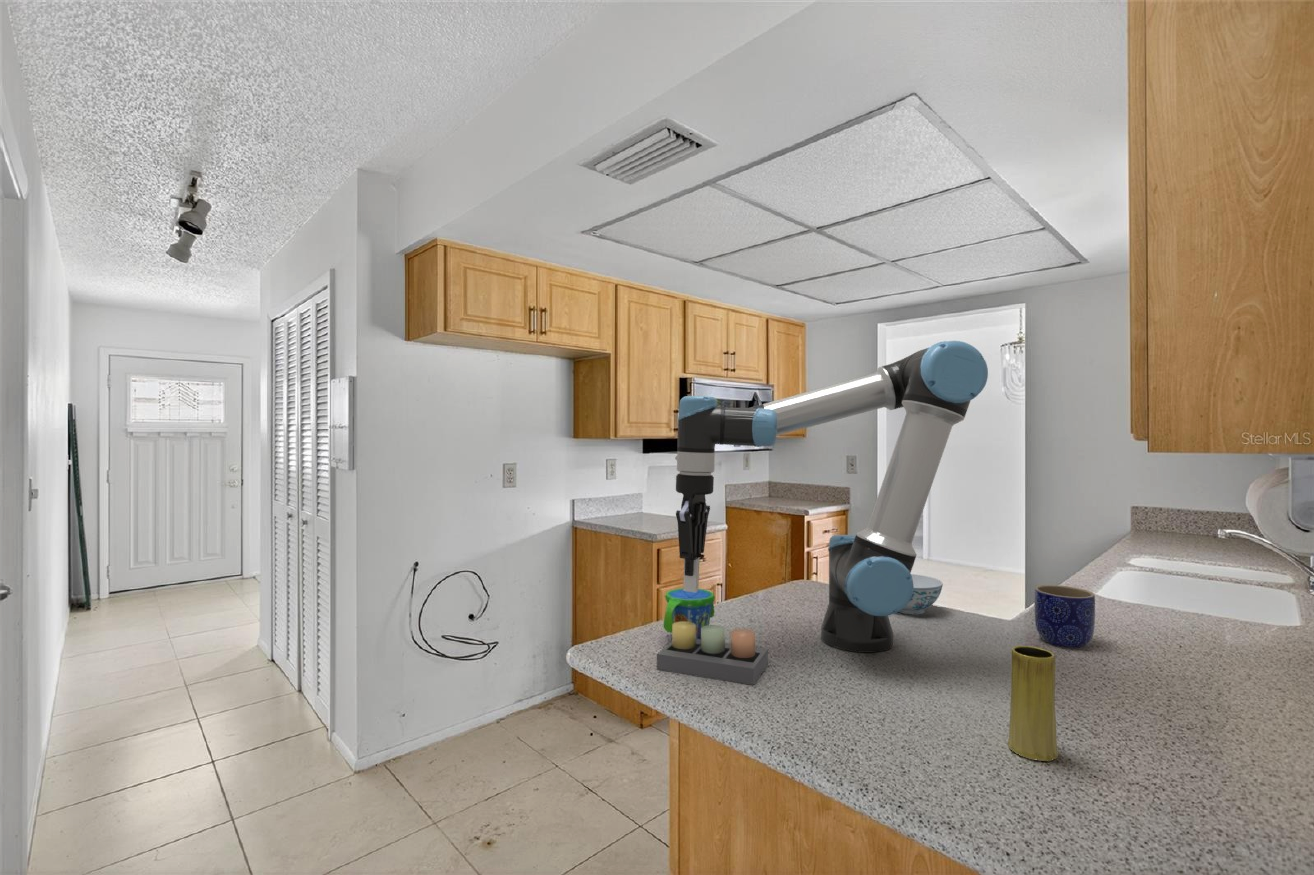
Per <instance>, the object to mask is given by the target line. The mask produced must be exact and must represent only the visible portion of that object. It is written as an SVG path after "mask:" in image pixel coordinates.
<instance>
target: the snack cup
mask: <svg viewBox="0 0 1314 875" xmlns="http://www.w3.org/2000/svg"><path fill="white" fill-rule="evenodd" d="M664 597H665V601H666V602H667V605H666V608H665V613H664V617H663V628H664V631H666V632H667V633H670V634H672V624H673V623H676V622H682V621H685V622H692V623H694V624H695V625H696V639H700V640H701V628H702V627H703V626H707V625H710V620H711V618H713V617H714V616H715V606H714V602H715V600H716V599H715V598H716V597H715V595H714V592H712V591H710V590H707V589H702V588H698V591H697V592H696V593H695V592H688V591H683V588H675V589H671V590H668V591H667V592H666V593H665V595H664Z"/></svg>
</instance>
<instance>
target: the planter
mask: <svg viewBox="0 0 1314 875" xmlns="http://www.w3.org/2000/svg"><path fill="white" fill-rule="evenodd" d="M1033 605H1034V622H1035V629H1036V631H1037V633H1038V634H1039V636H1040V637H1041V639H1043V641H1045V642H1046V643H1048V644H1051V645H1053V646H1057V647H1061V648H1068V649H1078V648H1083V647H1085V646H1087V645H1088V644H1090V642H1091V641H1092V639H1093V638H1094V635H1095V634H1094V632H1095V623H1096V595H1095V593H1094V592H1092V591H1090V590H1087V589H1083V588H1079V587H1075V586H1074V587H1073V586H1068V585H1057V584H1044V585H1037V586H1036V587H1035V588H1034V604H1033Z"/></svg>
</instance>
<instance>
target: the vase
mask: <svg viewBox="0 0 1314 875" xmlns="http://www.w3.org/2000/svg"><path fill="white" fill-rule="evenodd" d="M1010 674H1011V677H1010V678H1011V681H1010V682H1011V683H1010V707H1009V708H1010V710H1009V711H1010V713H1009V724H1008V725H1009V729H1008V740H1007V746H1008V748H1009V750H1013V751H1014V752H1015V753H1016V755H1017V754H1020V755H1022V756H1024V757H1027V758H1030V759H1037V760H1043V761H1047V760H1048V762H1051V761H1050V760H1052V759H1055V760H1056V759H1058V757H1059V753H1058V742H1057V738H1058V736H1057V721H1056V719H1057V718H1056V696H1055V695H1056V694H1055V691H1056V683H1055V682H1056V658H1055V654H1054V653H1053V652H1052V651H1050V650H1048V649H1045V648H1042V647H1038V646H1031V645H1017V646H1013V647H1012V648H1011V673H1010ZM1013 751H1012V752H1013ZM1014 752H1013V753H1014ZM1015 753H1014V754H1015ZM1024 757H1023V758H1024ZM1027 758H1026V759H1027ZM1030 759H1029V760H1030Z"/></svg>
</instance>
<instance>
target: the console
mask: <svg viewBox="0 0 1314 875" xmlns="http://www.w3.org/2000/svg"><path fill="white" fill-rule="evenodd" d="M768 665H769V648H764V647H756V646H755V656H753V657H750V658H739V657H735V656H733V655H731V643H730V642H729V643H728V642H725V651H724V652H721V653H716V654H712V653H706V652H703V651H702V650H701V640H700V639H696V646H695V647H694V648H691V649H678V648H675V647H673V646H672V641H671V642H670V643H668V644H667V645H665V646H664V647H662V649H661V650H660V651H659V652H656V670H658V671H663V672H664V671H665V672H671V673H676V674H681V675H682V674H683V675H687V676H694V677H701V678H707V679H714V680H720V681H727V682H731V683H737V684H744V685H752V686H754V685H755V684H756V683H757V681H758V679H759V678H760V677H761V675H762V673H763V672H764V670H765V669H766V668H767V667H768Z"/></svg>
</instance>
